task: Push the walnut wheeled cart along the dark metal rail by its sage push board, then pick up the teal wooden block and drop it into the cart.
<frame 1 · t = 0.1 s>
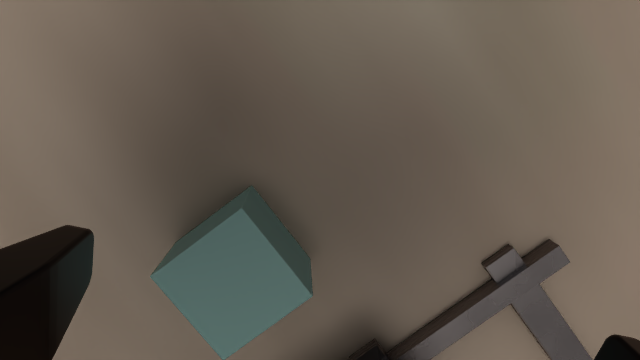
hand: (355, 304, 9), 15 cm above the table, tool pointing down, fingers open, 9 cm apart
block: (243, 249, 25), on the table
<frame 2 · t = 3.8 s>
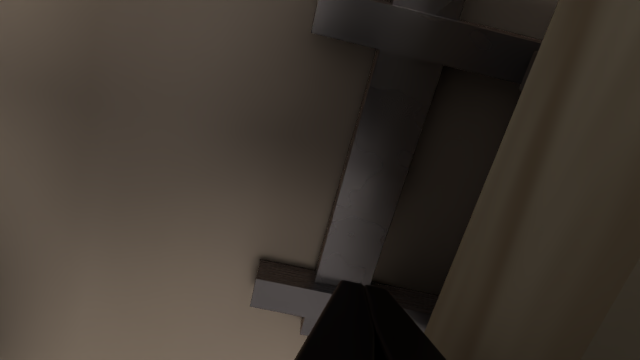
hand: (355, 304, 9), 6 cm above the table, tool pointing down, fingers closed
rail: (636, 233, 15), on the table
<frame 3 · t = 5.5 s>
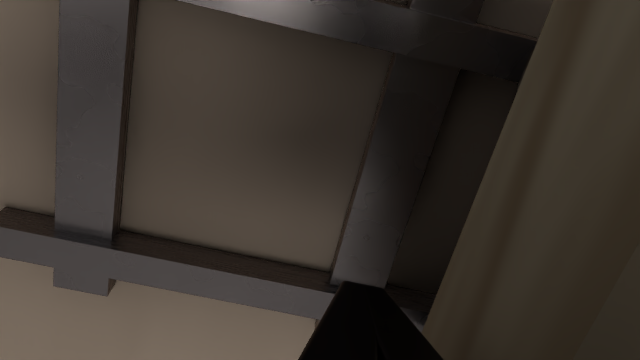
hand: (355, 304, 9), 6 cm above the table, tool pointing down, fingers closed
rail: (386, 176, 15), on the table
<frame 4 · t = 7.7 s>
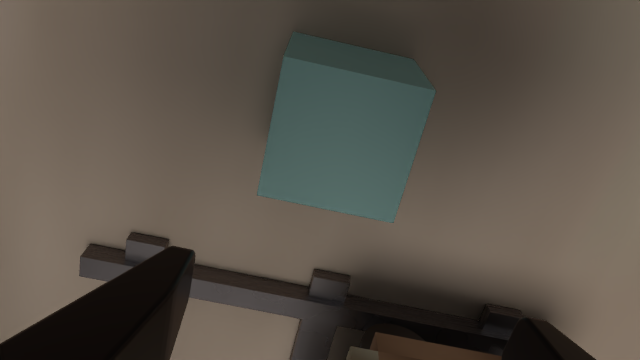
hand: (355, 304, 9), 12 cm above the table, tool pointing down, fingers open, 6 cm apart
block: (339, 103, 20), on the table
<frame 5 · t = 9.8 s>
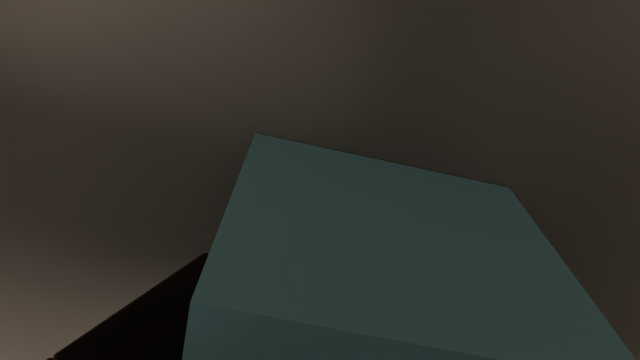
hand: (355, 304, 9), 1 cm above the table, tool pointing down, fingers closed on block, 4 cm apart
block: (352, 268, 10), on the table, touching gripper
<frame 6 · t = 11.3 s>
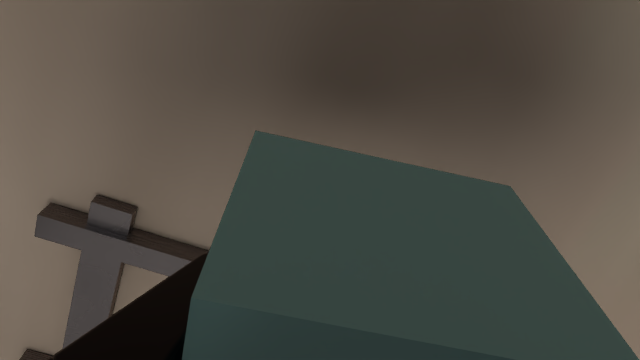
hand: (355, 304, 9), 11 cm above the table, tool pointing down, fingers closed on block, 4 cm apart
block: (352, 266, 10), point 10 cm above the table, touching gripper
rail: (269, 356, 24), on the table
when the fingers open (7 cm above the table, at t = 13.2 s): block drops 1 cm, resting on cart.
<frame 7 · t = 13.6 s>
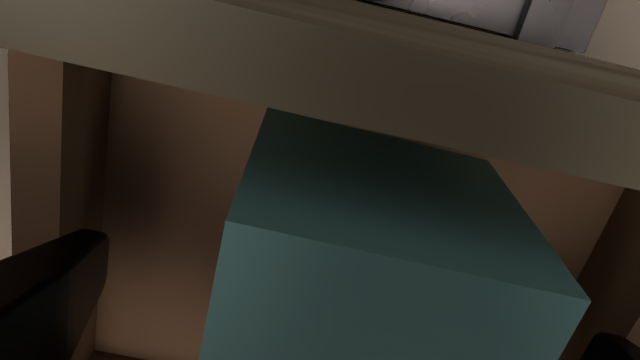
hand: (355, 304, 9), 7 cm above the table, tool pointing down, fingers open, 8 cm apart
block: (349, 230, 11), point 5 cm above the table, touching cart
cart: (345, 252, 11), point 5 cm above the table, slide at 9.0 cm, touching block
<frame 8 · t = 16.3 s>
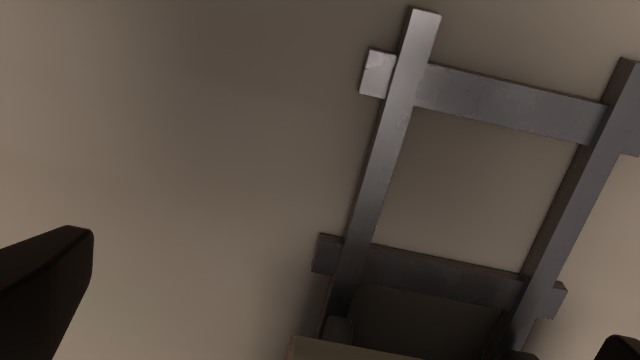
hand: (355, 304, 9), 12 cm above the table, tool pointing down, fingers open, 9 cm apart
rail: (437, 273, 23), on the table
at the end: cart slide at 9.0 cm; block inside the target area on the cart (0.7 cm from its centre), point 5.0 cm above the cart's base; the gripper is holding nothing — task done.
